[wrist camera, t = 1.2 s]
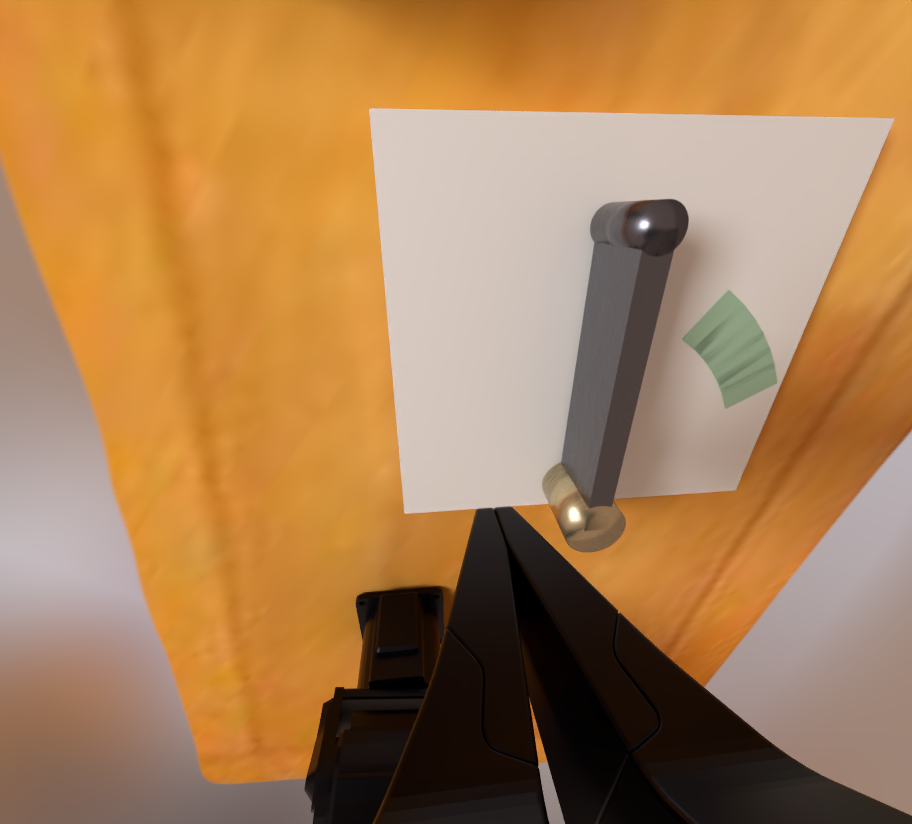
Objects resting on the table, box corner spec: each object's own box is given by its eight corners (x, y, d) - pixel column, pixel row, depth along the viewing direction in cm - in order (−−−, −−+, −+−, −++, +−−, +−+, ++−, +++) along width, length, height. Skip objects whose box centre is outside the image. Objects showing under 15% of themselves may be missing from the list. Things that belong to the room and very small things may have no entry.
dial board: (719, 476, 27) (736, 491, 25) (405, 497, 25) (404, 514, 23) (858, 125, 17) (896, 118, 16) (372, 117, 16) (368, 107, 14)
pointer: (588, 500, 24) (619, 549, 20) (539, 503, 24) (561, 554, 20) (649, 201, 16) (714, 198, 13) (577, 202, 16) (623, 198, 13)
